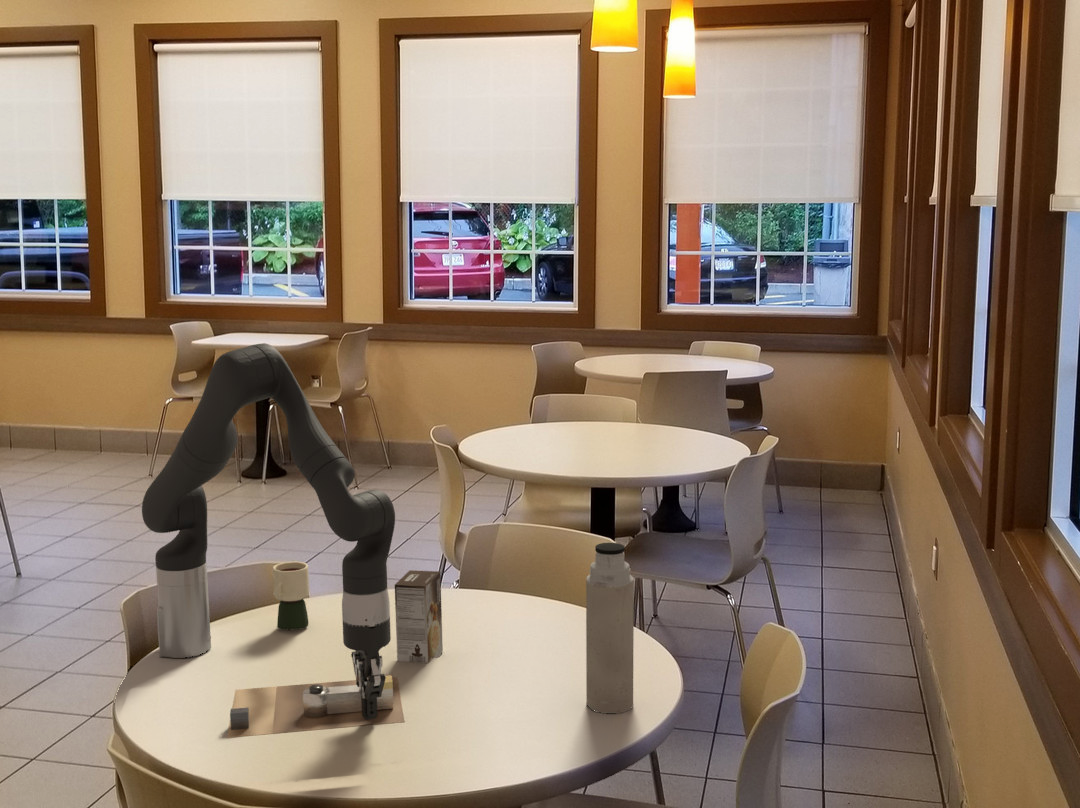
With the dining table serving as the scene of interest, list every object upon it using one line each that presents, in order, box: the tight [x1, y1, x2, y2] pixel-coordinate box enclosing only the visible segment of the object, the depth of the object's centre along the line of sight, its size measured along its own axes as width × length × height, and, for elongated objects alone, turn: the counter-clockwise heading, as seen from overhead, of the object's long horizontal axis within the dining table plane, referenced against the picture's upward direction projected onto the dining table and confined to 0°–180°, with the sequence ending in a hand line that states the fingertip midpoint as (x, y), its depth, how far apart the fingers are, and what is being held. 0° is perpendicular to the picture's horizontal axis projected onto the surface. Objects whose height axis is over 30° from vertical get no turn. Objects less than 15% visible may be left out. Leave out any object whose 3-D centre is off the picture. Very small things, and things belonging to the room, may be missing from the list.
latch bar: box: [303, 675, 393, 717], centre depth 191 cm, size 15×4×5 cm, turn 101°
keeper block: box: [229, 707, 250, 730], centre depth 185 cm, size 3×2×3 cm, turn 101°
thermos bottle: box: [585, 542, 635, 714], centre depth 194 cm, size 8×8×28 cm
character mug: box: [272, 561, 310, 631], centre depth 233 cm, size 11×7×13 cm, turn 162°
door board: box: [226, 676, 405, 739], centre depth 194 cm, size 28×19×1 cm
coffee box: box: [394, 569, 444, 664], centre depth 215 cm, size 9×6×16 cm
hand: (369, 717), depth 186 cm, fingers closed
